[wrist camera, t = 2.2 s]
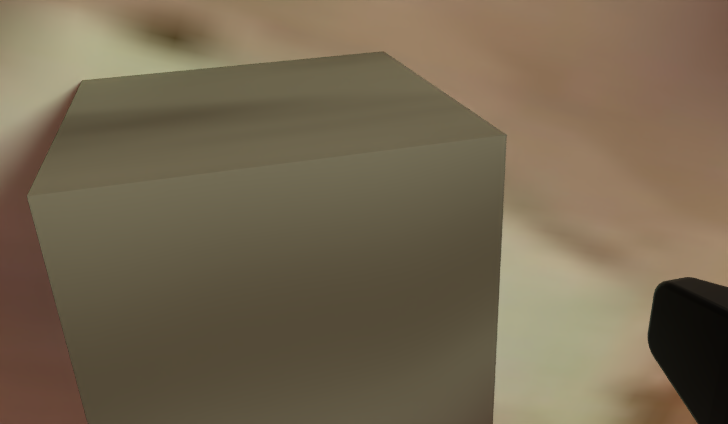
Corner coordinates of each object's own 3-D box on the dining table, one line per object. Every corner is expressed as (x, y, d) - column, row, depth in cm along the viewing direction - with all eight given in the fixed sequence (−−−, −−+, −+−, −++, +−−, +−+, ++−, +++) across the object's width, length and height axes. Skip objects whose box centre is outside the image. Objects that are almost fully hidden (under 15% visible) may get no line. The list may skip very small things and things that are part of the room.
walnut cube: (389, 294, 14) (489, 470, 10) (138, 338, 13) (123, 558, 9) (382, 50, 12) (507, 135, 8) (82, 79, 11) (26, 196, 7)
